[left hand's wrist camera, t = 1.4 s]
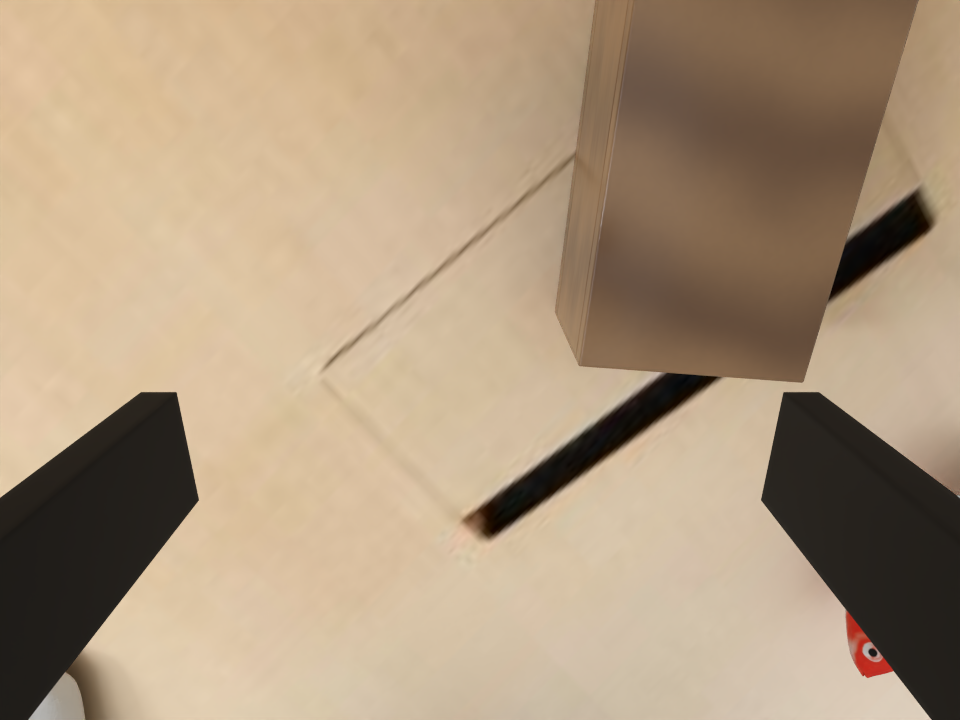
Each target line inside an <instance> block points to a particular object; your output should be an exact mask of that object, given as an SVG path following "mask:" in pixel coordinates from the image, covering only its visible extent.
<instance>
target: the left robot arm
mask: <svg viewBox="0 0 960 720" xmlns="http://www.w3.org/2000/svg"><path fill="white" fill-rule="evenodd" d="M198 501H199V498H198V494H197V489H196V484H195V479H194V474H193V469H192V465H191V460H190V455H189V450H188V445H187V441H186V436H185V431H184V426H183V421H182V417H181V412H180V407H179V402H178V397H177V393H176V392H141V393H139V394H138V395H137V396H135V397H134V398H133V399H131V400H130V401H129V402H127V403H126V404H125V405H123V406H122V407H121V408H119V409H118V410H117V411H115V412H114V413H113V414H111V415H110V416H109V417H107V418H106V419H105V420H103V421H102V422H101V423H99V424H98V425H97V426H95V427H94V428H93V429H91V430H90V431H89V432H87V433H86V434H85V435H83V436H82V437H81V438H79V439H78V440H77V441H75V442H74V443H73V444H71V445H70V446H69V447H67V448H66V449H65V450H63V451H62V452H61V453H59V454H58V455H57V456H55V457H54V458H53V459H51V460H50V461H49V462H47V463H46V464H45V465H43V466H42V467H41V468H39V469H38V470H37V471H35V472H34V473H33V474H31V475H30V476H29V477H27V478H26V479H25V480H23V481H22V482H21V483H19V484H18V485H17V486H15V487H14V488H13V489H11V490H10V491H9V492H7V493H6V494H5V495H3V496H2V497H1V498H0V720H28V719H29V718H30V717H31V716H32V714H33V713H34V712H35V710H36V709H37V708H38V707H39V705H40V704H41V703H42V701H43V700H44V699H45V698H46V696H47V695H48V694H49V692H50V691H51V690H52V689H53V687H54V686H55V685H56V683H57V682H58V681H59V680H60V678H61V677H62V676H63V674H64V673H65V672H66V671H67V669H68V668H69V667H70V665H71V664H72V663H73V662H74V660H75V659H76V658H77V656H78V655H79V654H80V653H81V651H82V650H83V649H84V647H85V646H86V645H87V644H88V642H89V641H90V640H91V638H92V637H93V636H94V635H95V633H96V632H97V631H98V629H99V628H100V627H101V626H102V624H103V623H104V622H105V620H106V619H107V618H108V616H109V615H110V614H111V613H112V611H113V610H114V609H115V607H116V606H117V605H118V604H119V602H120V601H121V600H122V598H123V597H124V596H125V595H126V593H127V592H128V591H129V589H130V588H131V587H132V586H133V584H134V583H135V582H136V580H137V579H138V578H139V577H140V575H141V574H142V573H143V571H144V570H145V569H146V568H147V566H148V565H149V564H150V562H151V561H152V560H153V559H154V557H155V556H156V555H157V553H158V552H159V551H160V550H161V548H162V547H163V546H164V544H165V543H166V542H167V541H168V539H169V538H170V537H171V535H172V534H173V533H174V532H175V530H176V529H177V528H178V526H179V525H180V524H181V523H182V521H183V520H184V519H185V517H186V516H187V515H188V513H189V512H190V511H191V510H192V508H193V507H194V506H195V504H196V503H197V502H198ZM761 501H762V502H763V503H764V504H765V506H766V507H767V508H768V510H769V511H770V512H771V513H772V515H773V516H774V517H775V519H776V520H777V521H778V523H779V524H780V525H781V526H782V528H783V529H784V530H785V532H786V533H787V534H788V535H789V537H790V538H791V539H792V541H793V542H794V543H795V544H796V546H797V547H798V548H799V550H800V551H801V552H802V553H803V555H804V556H805V557H806V559H807V560H808V561H809V562H810V564H811V565H812V566H813V568H814V569H815V570H816V571H817V573H818V574H819V575H820V577H821V578H822V579H823V580H824V582H825V583H826V584H827V586H828V587H829V588H830V589H831V591H832V592H833V593H834V595H835V596H836V597H837V598H838V600H839V601H840V602H841V604H842V605H843V606H844V607H845V609H846V610H847V611H848V613H849V614H850V615H851V616H852V618H853V619H854V620H855V622H856V623H857V624H858V626H859V627H860V628H861V629H862V631H863V632H864V633H865V635H866V636H867V637H868V638H869V640H870V641H871V642H872V644H873V645H874V646H875V647H876V649H877V650H878V651H879V653H880V654H881V655H882V656H883V658H884V659H885V660H886V662H887V663H888V664H889V665H890V667H891V668H892V669H893V671H894V672H895V673H896V674H897V676H898V677H899V678H900V680H901V681H902V682H903V683H904V685H905V686H906V687H907V689H908V690H909V691H910V692H911V694H912V695H913V696H914V698H915V699H916V700H917V701H918V703H919V704H920V705H921V707H922V708H923V709H924V710H925V712H926V713H927V714H928V716H929V717H930V718H931V719H932V720H960V498H959V497H958V496H957V495H955V494H954V493H953V492H951V491H950V490H949V489H947V488H946V487H945V486H943V485H942V484H941V483H939V482H938V481H937V480H935V479H934V478H933V477H931V476H930V475H929V474H927V473H926V472H925V471H923V470H922V469H921V468H919V467H918V466H917V465H915V464H914V463H913V462H911V461H910V460H909V459H907V458H906V457H905V456H903V455H902V454H901V453H899V452H898V451H897V450H895V449H894V448H893V447H891V446H890V445H889V444H887V443H886V442H885V441H883V440H882V439H881V438H879V437H878V436H877V435H875V434H874V433H873V432H871V431H870V430H869V429H867V428H866V427H865V426H863V425H862V424H861V423H859V422H858V421H857V420H855V419H854V418H853V417H851V416H850V415H849V414H847V413H846V412H845V411H843V410H842V409H841V408H839V407H838V406H837V405H835V404H834V403H833V402H831V401H830V400H829V399H827V398H826V397H825V396H823V395H822V394H821V393H819V392H784V393H783V397H782V402H781V407H780V412H779V417H778V421H777V426H776V431H775V436H774V441H773V445H772V450H771V455H770V460H769V465H768V469H767V474H766V479H765V484H764V489H763V494H762V498H761Z"/></svg>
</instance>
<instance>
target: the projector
mask: <svg viewBox="0 0 960 720" xmlns="http://www.w3.org/2000/svg"><path fill="white" fill-rule="evenodd" d="M28 720H85V714H84V707H83V702H82V697H81V693H80V690H79V688H78V685H77V683H76V681H75V680H74V678H72V677H71V676H70V675H69V674H67V673H66V672H65V673H64V674H63V676H62V677H61V678H60V680H59V681H58V682H57V683H56V685H55V686H54V687H53V689H52V690H51V691H50V692H49V694H48V695H47V696H46V698H45V699H44V700H43V701H42V703H41V704H40V705H39V707H38V708H37V709H36V710H35V712H34V713H33V714H32V716H31V717H30V718H29V719H28Z"/></svg>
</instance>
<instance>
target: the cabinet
mask: <svg viewBox="0 0 960 720" xmlns="http://www.w3.org/2000/svg"><path fill="white" fill-rule="evenodd" d="M917 3H918V0H596V1H595V9H594V16H593V24H592V32H591V39H590V47H589V55H588V63H587V70H586V78H585V86H584V93H583V101H582V109H581V116H580V124H579V132H578V139H577V147H576V155H575V162H574V170H573V178H572V185H571V193H570V201H569V208H568V216H567V224H566V231H565V239H564V247H563V254H562V262H561V270H560V278H559V285H558V293H557V301H556V308H555V313H556V315H557V318H558V320H559V322H560V325H561V327H562V329H563V331H564V334H565V336H566V338H567V340H568V342H569V345H570V347H571V349H572V351H573V354H574V356H575V358H576V360H577V362H578V364H579V366H585V367H599V368H612V369H626V370H639V371H653V372H666V373H680V374H693V375H707V376H720V377H733V378H747V379H760V380H774V381H787V382H801V383H802V382H803V381H804V378H805V375H806V372H807V368H808V365H809V362H810V358H811V355H812V352H813V348H814V345H815V342H816V339H817V335H818V332H819V329H820V325H821V322H822V319H823V315H824V312H825V309H826V305H827V302H828V299H829V295H830V292H831V289H832V285H833V282H834V279H835V275H836V272H837V269H838V265H839V262H840V259H841V256H842V252H843V249H844V246H845V242H846V239H847V236H848V232H849V229H850V226H851V222H852V219H853V216H854V212H855V209H856V206H857V202H858V199H859V196H860V192H861V189H862V186H863V183H864V179H865V176H866V173H867V169H868V166H869V163H870V159H871V156H872V153H873V149H874V146H875V143H876V139H877V136H878V133H879V129H880V126H881V123H882V119H883V116H884V113H885V110H886V106H887V103H888V100H889V96H890V93H891V90H892V86H893V83H894V80H895V76H896V73H897V70H898V66H899V63H900V60H901V56H902V53H903V50H904V46H905V43H906V40H907V36H908V33H909V30H910V27H911V23H912V20H913V17H914V13H915V10H916V7H917Z"/></svg>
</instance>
